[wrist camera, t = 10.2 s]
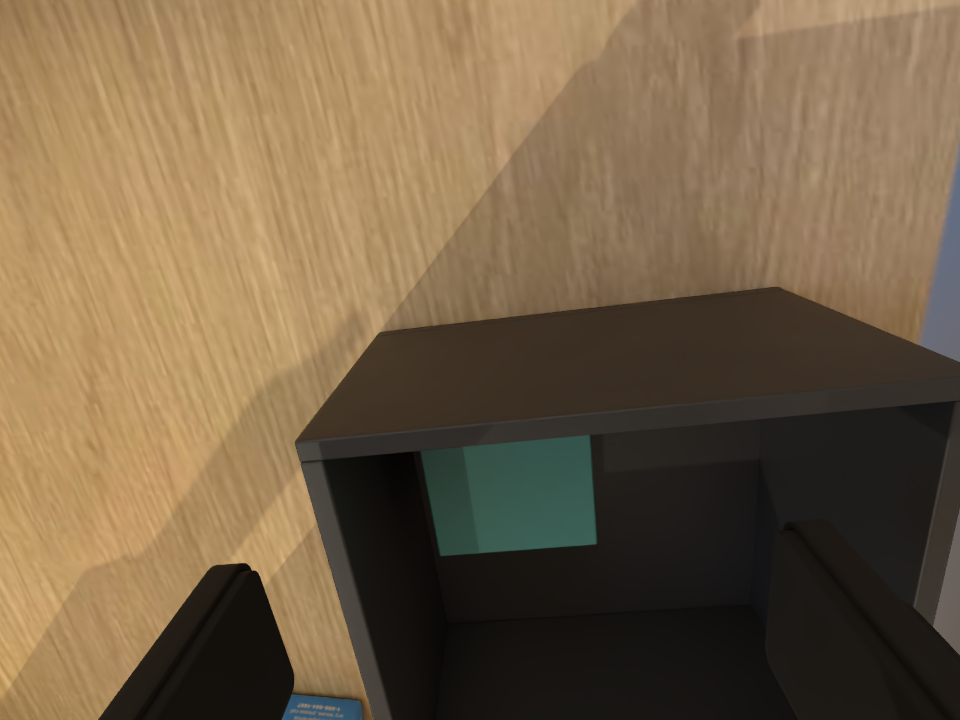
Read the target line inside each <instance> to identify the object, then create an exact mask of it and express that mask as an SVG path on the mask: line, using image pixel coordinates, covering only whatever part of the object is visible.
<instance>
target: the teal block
mask: <svg viewBox="0 0 960 720" xmlns="http://www.w3.org/2000/svg"><path fill="white" fill-rule="evenodd" d="M419 452H420V457H421V462H422V467H423V472H424V478H425V483H426V488H427V493H428V498H429V503H430V509H431V514H432V519H433V524H434V529H435V534H436V540H437V545H438V550H439V554H440V556H450V555H463V554H476V553H489V552H503V551H516V550H529V549H542V548H556V547H569V546H582V545H595V544H597V528H596V512H595V496H594V480H593V464H592V448H591V435H585V436H575V437H564V438H553V439H542V440H532V441H521V442H510V443H500V444H489V445H478V446H467V447H457V448H446V449H435V450H425V451H419Z"/></svg>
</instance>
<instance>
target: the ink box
mask: <svg viewBox="0 0 960 720" xmlns="http://www.w3.org/2000/svg"><path fill="white" fill-rule="evenodd" d="M282 720H364V718H363V708H362V704H361V702H360V701H358V700H351V699H339V698H328V697H319V696H308V695H297V694H292V695H291V698H290V700H289V703H288V705H287V708H286V710H285V713H284V715H283V718H282Z"/></svg>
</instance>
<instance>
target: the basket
mask: <svg viewBox="0 0 960 720" xmlns="http://www.w3.org/2000/svg"><path fill="white" fill-rule="evenodd" d="M585 435H591V448H592V464H593V480H594V496H595V512H596V528H597V544H595V545H582V546H569V547H556V548H542V549H529V550H516V551H503V552H489V553H476V554H463V555H450V556H440V554H439V550H438V545H437V540H436V534H435V529H434V524H433V519H432V514H431V509H430V503H429V498H428V493H427V488H426V483H425V478H424V472H423V467H422V462H421V457H420V452H419V451H425V450H435V449H446V448H457V447H467V446H478V445H489V444H500V443H510V442H521V441H532V440H542V439H553V438H564V437H575V436H585ZM295 446H296V449H297V453H298V456H299V460H300V461H301V467H302V471H303V474H304V478H305V481H306V485H307V488H308V492H309V495H310V499H311V502H312V506H313V509H314V513H315V516H316V520H317V523H318V527H319V530H320V534H321V537H322V541H323V544H324V548H325V551H326V555H327V558H328V561H329V565H330V568H331V572H332V575H333V579H334V582H335V586H336V589H337V593H338V596H339V600H340V603H341V607H342V610H343V614H344V617H345V621H346V624H347V628H348V631H349V635H350V638H351V642H352V645H353V649H354V652H355V656H356V659H357V663H358V666H359V670H360V673H361V677H362V680H363V684H364V687H365V691H366V694H367V697H368V701H369V704H370V708H371V711H372V715H373V718H374V720H798V718H797V716H796V715H795V713H794V711H793V709H792V707H791V705H790V703H789V702H788V700H787V698H786V696H785V694H784V692H783V690H782V688H781V687H780V685H779V683H778V681H777V679H776V677H775V675H774V674H773V672H772V670H771V667H770V665H769V662H768V660H767V656H766V651H765V638H766V626H767V615H768V603H769V591H770V579H771V567H772V555H773V543H774V535H775V533H776V532H777V531H783V527H784V525H785V523H786V522H789V521H800V520H813V519H824V520H827V521H828V522H829V523H830V524H831V525H832V526H833V527H834V528H835V529H836V530H837V531H838V532H839V533H840V534H841V536H842V537H843V538H844V539H845V540H846V541H847V542H848V543H849V544H850V545H851V546H852V547H853V548H854V550H855V551H856V552H857V553H858V554H859V555H860V556H861V557H862V558H863V559H864V560H865V561H866V563H867V564H868V565H869V566H870V567H871V568H872V569H873V570H874V571H875V572H876V573H877V574H878V576H879V577H880V578H881V579H882V580H883V581H884V582H885V583H886V584H887V585H888V586H889V587H890V589H891V590H892V591H893V592H894V593H895V594H896V595H897V596H898V597H899V598H900V599H901V600H902V601H904V602H906V603H908V604H910V605H911V606H912V607H913V608H915V609H916V610H917V611H918V612H919V613H920V614H921V615H922V616H923V617H924V618H925V619H926V620H927V621H928V622H929V623H930V624H931V625H932V627H933V623H934V619H935V615H936V610H937V606H938V602H939V597H940V593H941V588H942V584H943V579H944V575H945V570H946V566H947V562H948V558H949V553H950V549H951V544H952V540H953V536H954V531H955V527H956V522H957V517H958V513H959V509H960V362H958V361H955V360H953V359H950V358H948V357H945V356H943V355H941V354H938V353H936V352H934V351H931V350H928V349H926V348H924V347H922V346H919V345H917V344H914V343H912V342H909V341H907V340H905V339H902V338H900V337H897V336H895V335H893V334H890V333H888V332H885V331H883V330H881V329H878V328H876V327H873V326H871V325H869V324H866V323H864V322H861V321H859V320H856V319H854V318H852V317H849V316H847V315H844V314H842V313H840V312H837V311H835V310H832V309H830V308H828V307H825V306H823V305H820V304H818V303H815V302H813V301H811V300H808V299H806V298H803V297H801V296H799V295H796V294H794V293H791V292H789V291H786V290H784V289H782V288H779V287H772V288H763V289H755V290H746V291H737V292H728V293H720V294H711V295H702V296H693V297H685V298H676V299H667V300H658V301H649V302H641V303H632V304H623V305H614V306H606V307H597V308H588V309H579V310H571V311H562V312H553V313H544V314H535V315H527V316H518V317H509V318H500V319H492V320H483V321H474V322H465V323H457V324H448V325H439V326H430V327H421V328H413V329H404V330H395V331H386V332H380V333H378V335H377V336H376V337H375V339H374V340H373V341H372V342H371V344H370V345H369V346H368V348H367V349H366V350H365V352H364V353H363V354H362V355H361V357H360V358H359V359H358V361H357V362H356V363H355V364H354V366H353V367H352V368H351V370H350V371H349V372H348V374H347V375H346V376H345V377H344V379H343V380H342V381H341V383H340V384H339V385H338V386H337V388H336V389H335V390H334V392H333V393H332V394H331V395H330V397H329V398H328V399H327V401H326V402H325V403H324V405H323V406H322V407H321V408H320V410H319V411H318V412H317V414H316V415H315V416H314V417H313V419H312V420H311V421H310V423H309V424H308V425H307V427H306V428H305V429H304V430H303V432H302V433H301V434H300V436H299V437H298V438H297V439H296V441H295Z"/></svg>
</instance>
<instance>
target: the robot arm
mask: <svg viewBox="0 0 960 720" xmlns="http://www.w3.org/2000/svg"><path fill="white" fill-rule="evenodd" d="M765 651H766V656H767V660H768V662H769V665H770V667H771V670H772V672H773V674H774V675H775V677H776V679H777V681H778V683H779V685H780V687H781V688H782V690H783V692H784V694H785V696H786V698H787V700H788V702H789V703H790V705H791V707H792V709H793V711H794V713H795V715H796V716H797V718H798V720H960V655H959V654H958V653H957V652H956V651H955V650H954V649H953V648H952V647H951V646H950V645H949V644H948V642H947V641H945V639H944V638H943V637H942V636H941V635H940V634H939V633H938V632H937V631H936V630H935V629H934V628H933V627H932V625H931V624H930V623H929V622H928V621H927V620H926V619H925V618H924V617H923V616H922V615H921V614H920V613H919V612H918V611H917V610H916V609H915V608H913V607H912V606H911V605H910V604H908V603H906V602H904V601H902V600H901V599H900V598H899V597H898V596H897V595H896V594H895V593H894V592H893V591H892V590H891V589H890V587H889V586H888V585H887V584H886V583H885V582H884V581H883V580H882V579H881V578H880V577H879V576H878V574H877V573H876V572H875V571H874V570H873V569H872V568H871V567H870V566H869V565H868V564H867V563H866V561H865V560H864V559H863V558H862V557H861V556H860V555H859V554H858V553H857V552H856V551H855V550H854V548H853V547H852V546H851V545H850V544H849V543H848V542H847V541H846V540H845V539H844V538H843V537H842V536H841V534H840V533H839V532H838V531H837V530H836V529H835V528H834V527H833V526H832V525H831V524H830V523H829V522H828V521H827V520H824V519H813V520H800V521H789V522H786V523H785V525H784V527H783V531H777V532H776V533H775V535H774V543H773V555H772V567H771V579H770V591H769V603H768V615H767V626H766V638H765ZM293 687H294V672H293V669H292V666H291V663H290V660H289V658H288V655H287V652H286V649H285V646H284V643H283V641H282V638H281V635H280V632H279V629H278V626H277V624H276V621H275V618H274V615H273V612H272V610H271V607H270V604H269V601H268V598H267V595H266V593H265V590H264V587H263V584H262V581H261V578H260V576H259V574H258V572H256V571H252V570H251V568H250V566H249V565H247V564H246V563H239V564H226V565H215V566H213V567H211V568H210V569H209V570H208V571H207V573H206V574H205V575H204V577H203V578H202V579H201V581H200V582H199V583H198V585H197V586H196V587H195V589H194V590H193V592H192V593H191V594H190V596H189V597H188V598H187V600H186V601H185V602H184V604H183V605H182V606H181V608H180V609H179V611H178V612H177V613H176V615H175V616H174V617H173V619H172V620H171V621H170V623H169V624H168V625H167V627H166V628H165V630H164V631H163V632H162V634H161V635H160V636H159V638H158V639H157V640H156V642H155V643H154V644H153V646H152V647H151V649H150V650H149V651H148V653H147V654H146V655H145V657H144V658H143V659H142V661H141V662H140V663H139V665H138V666H137V668H136V669H135V670H134V672H133V673H132V674H131V676H130V677H129V678H128V680H127V681H126V682H125V684H124V685H123V687H122V688H121V689H120V691H119V692H118V693H117V695H116V696H115V697H114V699H113V700H112V701H111V703H110V704H109V706H108V707H107V708H106V710H105V711H104V712H103V714H102V715H101V716H100V718H99V719H98V720H282V718H283V715H284V713H285V710H286V708H287V705H288V703H289V700H290V698H291V695H292V692H293Z"/></svg>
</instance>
